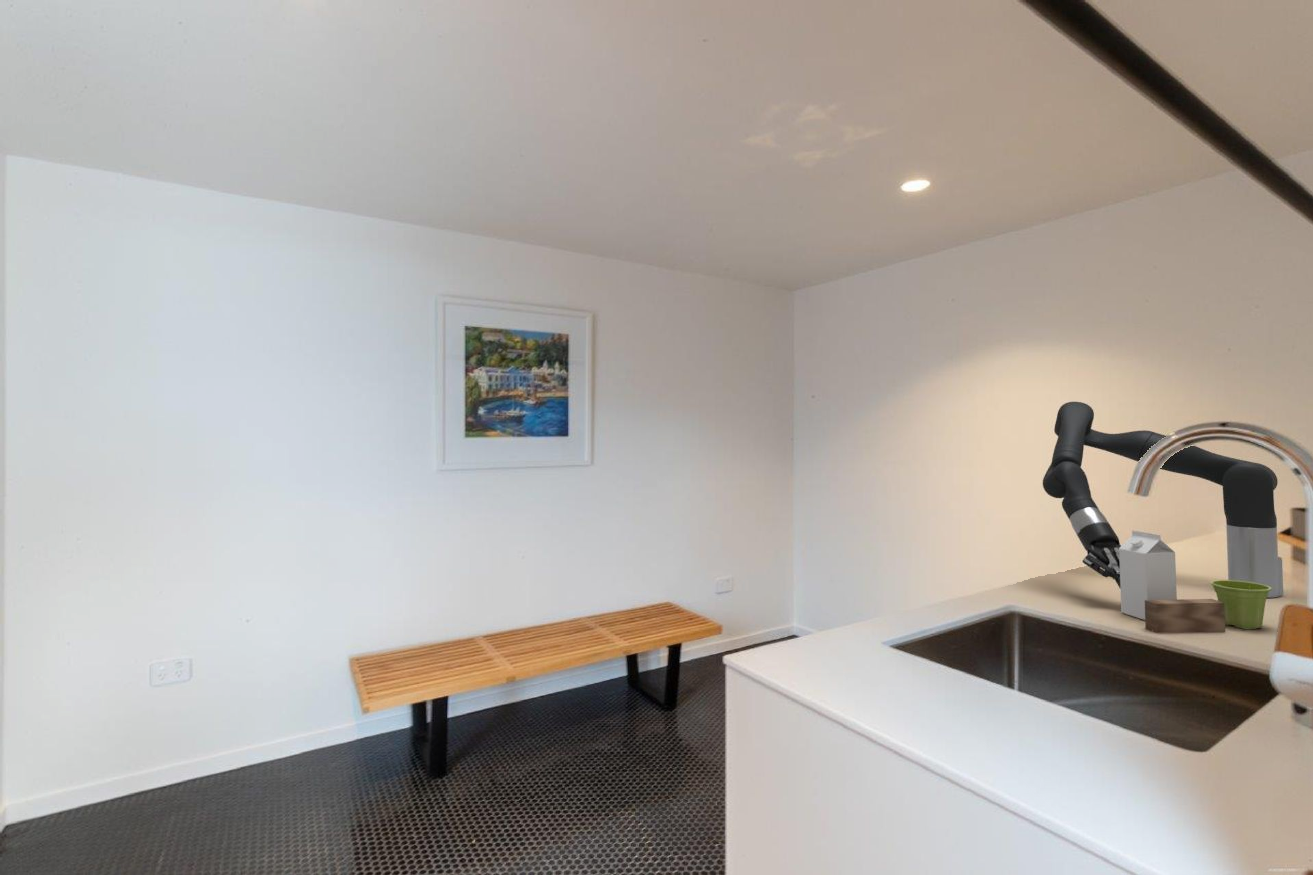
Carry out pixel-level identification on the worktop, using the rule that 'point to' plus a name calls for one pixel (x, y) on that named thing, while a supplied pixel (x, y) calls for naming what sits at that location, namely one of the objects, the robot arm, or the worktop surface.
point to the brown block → (1185, 615)
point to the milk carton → (1145, 572)
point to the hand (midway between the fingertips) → (1129, 590)
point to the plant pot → (1242, 602)
